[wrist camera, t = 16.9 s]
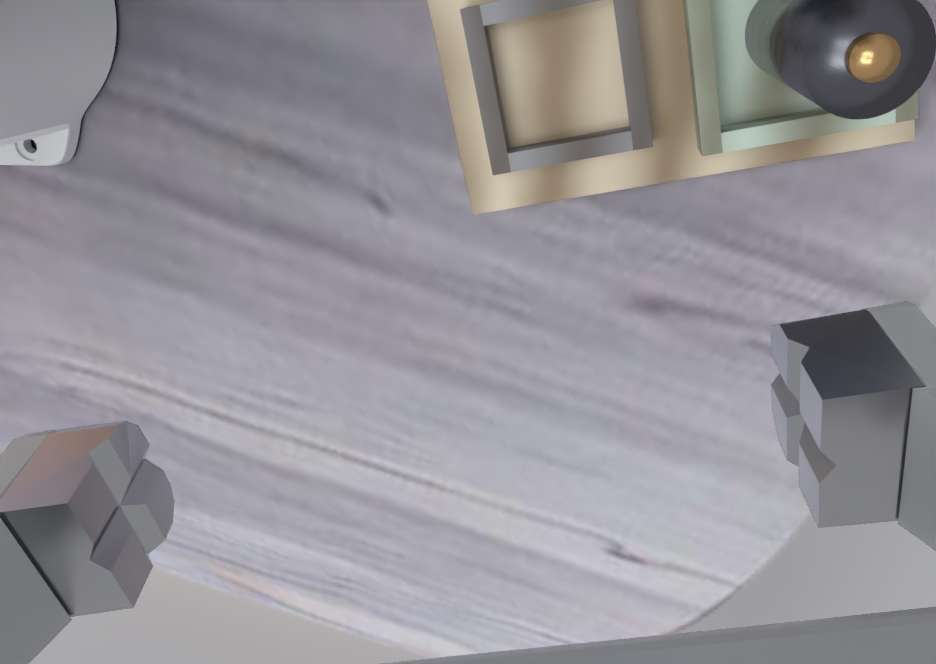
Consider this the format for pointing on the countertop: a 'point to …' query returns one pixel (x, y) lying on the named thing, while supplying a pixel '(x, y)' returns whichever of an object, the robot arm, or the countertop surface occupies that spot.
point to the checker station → (622, 98)
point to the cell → (844, 51)
